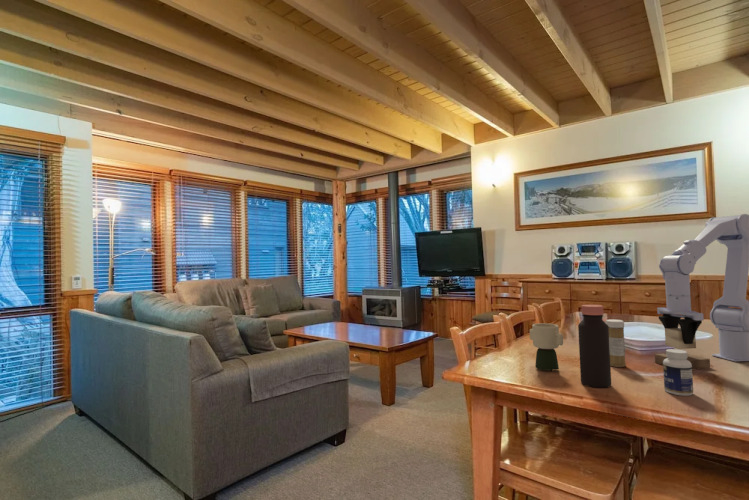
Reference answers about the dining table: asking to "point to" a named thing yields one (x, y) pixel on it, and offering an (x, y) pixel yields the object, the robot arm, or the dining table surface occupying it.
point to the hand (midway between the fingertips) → (680, 341)
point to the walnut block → (694, 360)
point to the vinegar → (594, 348)
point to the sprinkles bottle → (616, 342)
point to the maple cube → (677, 339)
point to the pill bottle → (677, 373)
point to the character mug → (546, 345)
